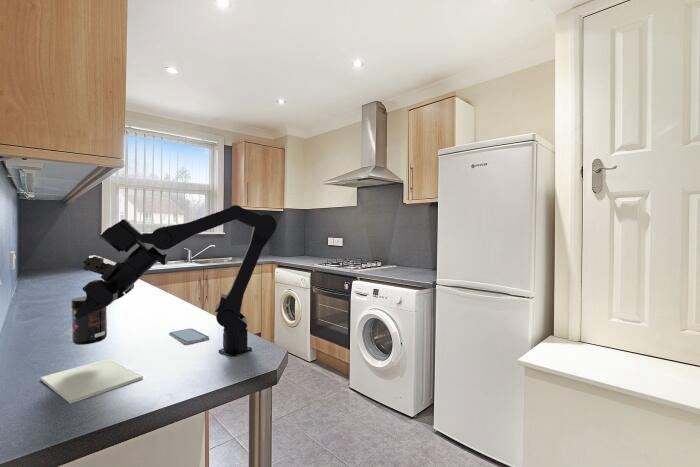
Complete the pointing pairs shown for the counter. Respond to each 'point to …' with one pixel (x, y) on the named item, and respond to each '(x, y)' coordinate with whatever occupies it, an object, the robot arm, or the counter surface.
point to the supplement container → (88, 324)
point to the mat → (90, 380)
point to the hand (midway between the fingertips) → (82, 313)
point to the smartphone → (189, 336)
